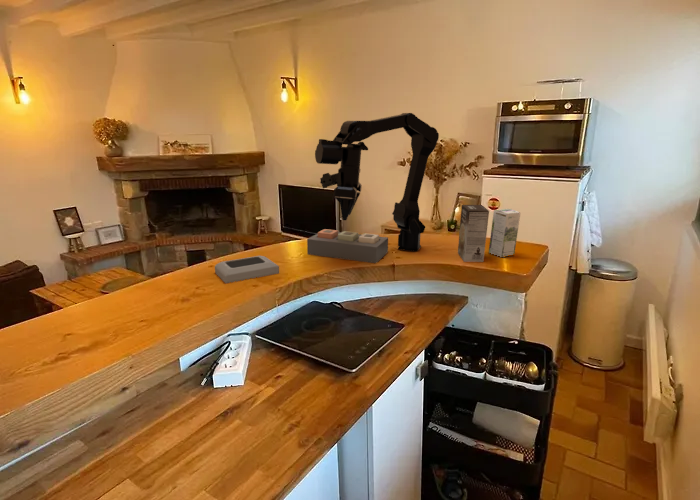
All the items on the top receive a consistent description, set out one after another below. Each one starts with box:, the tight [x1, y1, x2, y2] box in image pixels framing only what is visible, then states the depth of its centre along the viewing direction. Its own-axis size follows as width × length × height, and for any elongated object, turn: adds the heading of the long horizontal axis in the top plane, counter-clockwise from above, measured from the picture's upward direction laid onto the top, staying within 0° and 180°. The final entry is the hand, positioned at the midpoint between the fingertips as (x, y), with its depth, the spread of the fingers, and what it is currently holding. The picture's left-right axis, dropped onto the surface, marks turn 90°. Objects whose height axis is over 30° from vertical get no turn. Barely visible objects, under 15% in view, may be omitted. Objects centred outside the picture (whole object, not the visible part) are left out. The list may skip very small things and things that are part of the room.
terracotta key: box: [317, 228, 339, 239], centre depth 136 cm, size 5×5×3 cm
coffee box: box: [457, 204, 490, 263], centre depth 129 cm, size 9×6×16 cm
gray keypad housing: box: [306, 231, 389, 264], centre depth 134 cm, size 23×12×5 cm, turn 69°
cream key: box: [359, 232, 380, 244], centre depth 131 cm, size 5×5×3 cm
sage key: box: [338, 230, 359, 242], centre depth 133 cm, size 5×5×3 cm
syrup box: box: [488, 208, 521, 258], centre depth 133 cm, size 6×6×14 cm
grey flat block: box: [214, 255, 280, 284], centre depth 116 cm, size 10×4×15 cm
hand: (346, 217), depth 127 cm, fingers open, 9 cm apart
